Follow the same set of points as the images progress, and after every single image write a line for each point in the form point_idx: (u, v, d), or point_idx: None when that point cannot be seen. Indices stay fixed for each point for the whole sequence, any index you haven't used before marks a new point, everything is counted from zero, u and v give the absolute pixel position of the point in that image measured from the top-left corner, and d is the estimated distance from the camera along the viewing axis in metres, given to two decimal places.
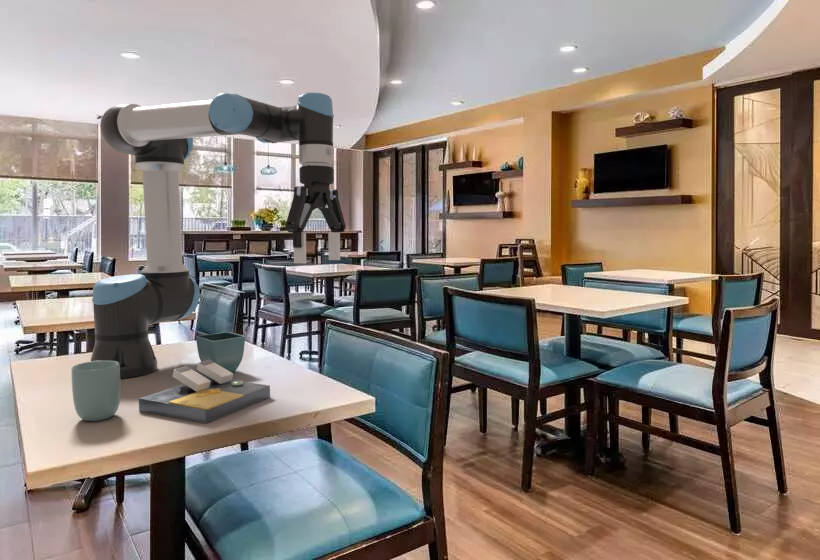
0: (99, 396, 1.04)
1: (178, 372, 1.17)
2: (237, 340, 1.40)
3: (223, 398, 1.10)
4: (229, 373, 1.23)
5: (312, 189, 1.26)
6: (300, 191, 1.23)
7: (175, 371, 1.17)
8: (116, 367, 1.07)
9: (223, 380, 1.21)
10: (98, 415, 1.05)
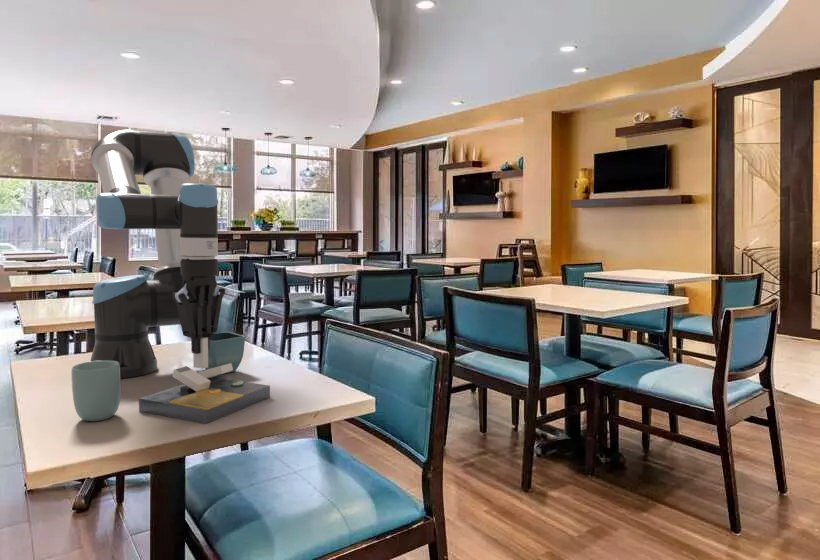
0: (99, 396, 1.04)
1: (178, 372, 1.17)
2: (237, 340, 1.40)
3: (223, 398, 1.10)
4: (227, 364, 1.23)
5: (190, 286, 1.19)
6: (180, 300, 1.18)
7: (175, 371, 1.17)
8: (116, 367, 1.07)
9: (224, 369, 1.21)
10: (98, 415, 1.05)
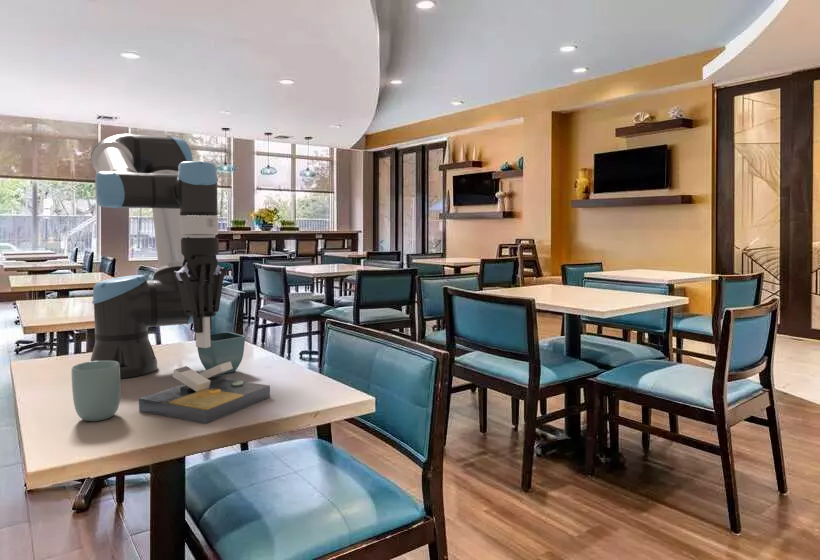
0: (99, 396, 1.04)
1: (178, 372, 1.17)
2: (237, 340, 1.40)
3: (223, 398, 1.10)
4: None
5: (191, 264, 1.19)
6: (181, 278, 1.17)
7: (175, 371, 1.17)
8: (116, 367, 1.07)
9: (223, 367, 1.21)
10: (98, 415, 1.05)
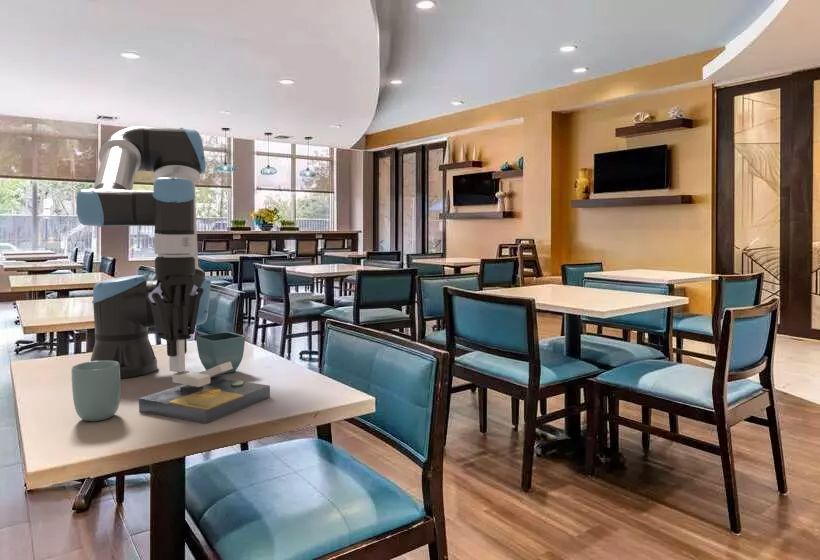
0: (99, 396, 1.04)
1: (177, 375, 1.17)
2: (237, 340, 1.40)
3: (223, 398, 1.10)
4: None
5: (165, 285, 1.13)
6: (153, 300, 1.12)
7: (174, 375, 1.17)
8: (116, 367, 1.07)
9: (223, 367, 1.21)
10: (98, 415, 1.05)
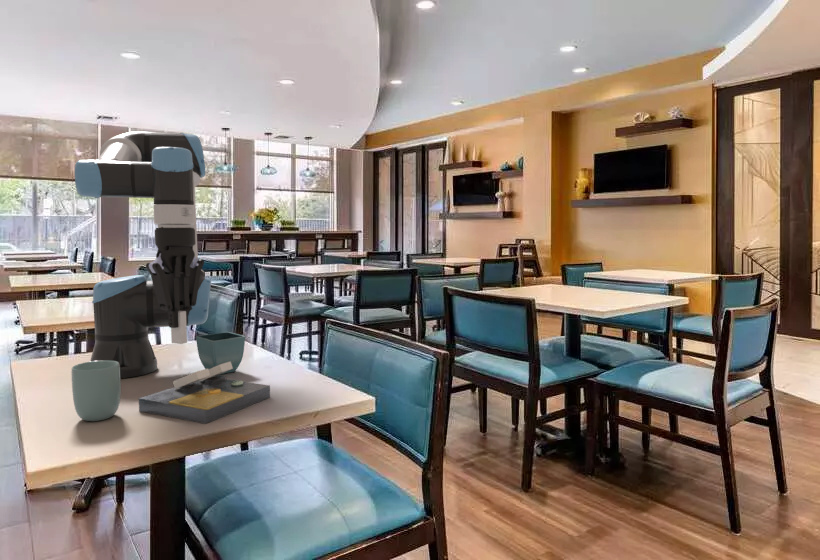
0: (99, 396, 1.04)
1: (177, 380, 1.17)
2: (237, 340, 1.40)
3: (223, 398, 1.10)
4: None
5: (165, 255, 1.13)
6: (154, 270, 1.11)
7: (174, 382, 1.17)
8: (116, 367, 1.07)
9: (223, 367, 1.21)
10: (98, 415, 1.05)
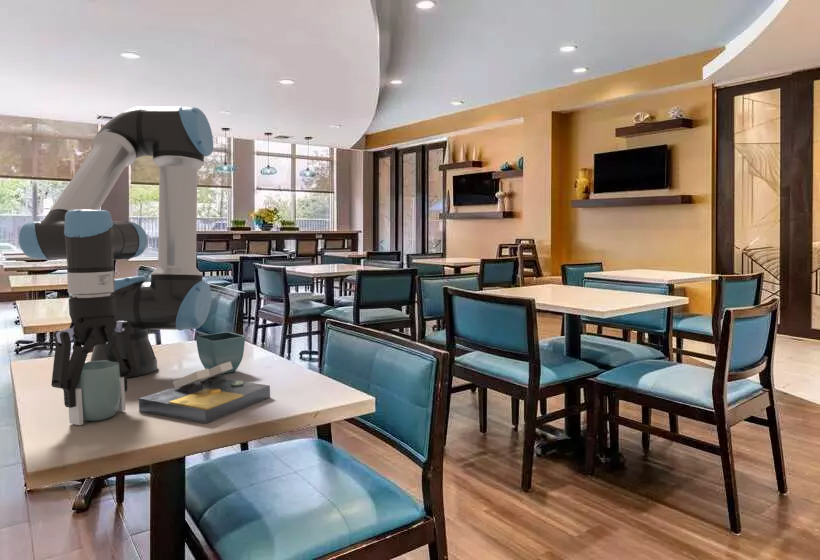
0: (99, 396, 1.04)
1: (177, 380, 1.17)
2: (237, 340, 1.40)
3: (223, 398, 1.10)
4: None
5: (80, 327, 1.03)
6: (60, 339, 1.00)
7: (174, 382, 1.17)
8: (116, 367, 1.07)
9: (223, 367, 1.21)
10: (98, 415, 1.05)
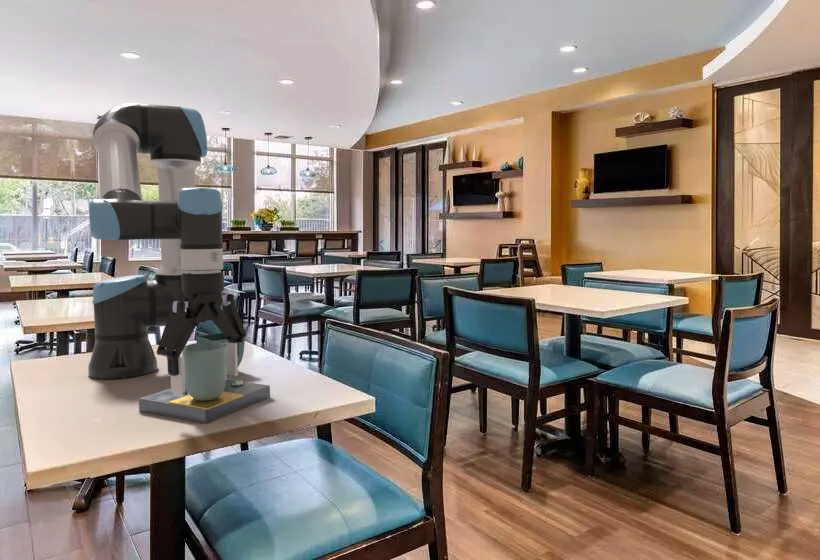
0: (210, 376, 1.07)
1: None
2: None
3: (223, 398, 1.10)
4: None
5: (194, 302, 1.05)
6: (176, 308, 1.02)
7: None
8: (224, 348, 1.09)
9: None
10: (209, 395, 1.07)
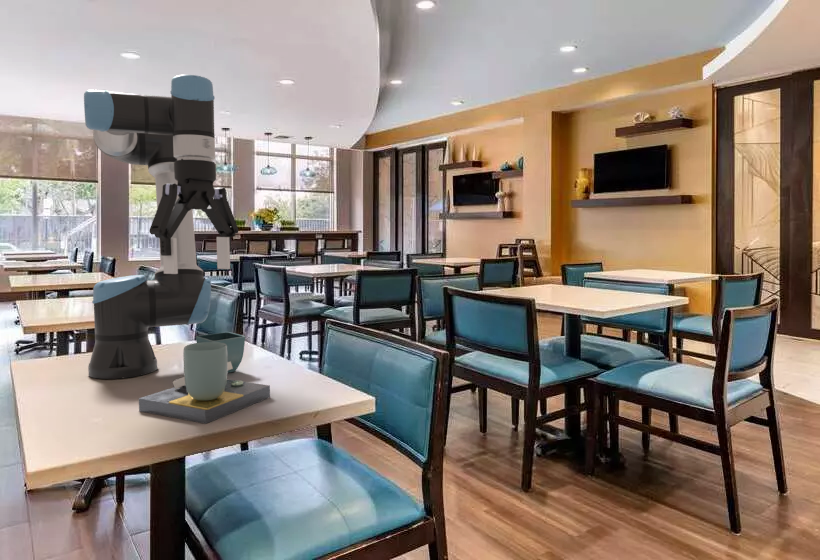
0: (211, 376, 1.07)
1: (177, 380, 1.17)
2: (237, 340, 1.40)
3: (223, 398, 1.10)
4: None
5: (186, 187, 1.08)
6: (169, 189, 1.05)
7: (174, 382, 1.17)
8: (225, 348, 1.09)
9: None
10: (209, 395, 1.07)
